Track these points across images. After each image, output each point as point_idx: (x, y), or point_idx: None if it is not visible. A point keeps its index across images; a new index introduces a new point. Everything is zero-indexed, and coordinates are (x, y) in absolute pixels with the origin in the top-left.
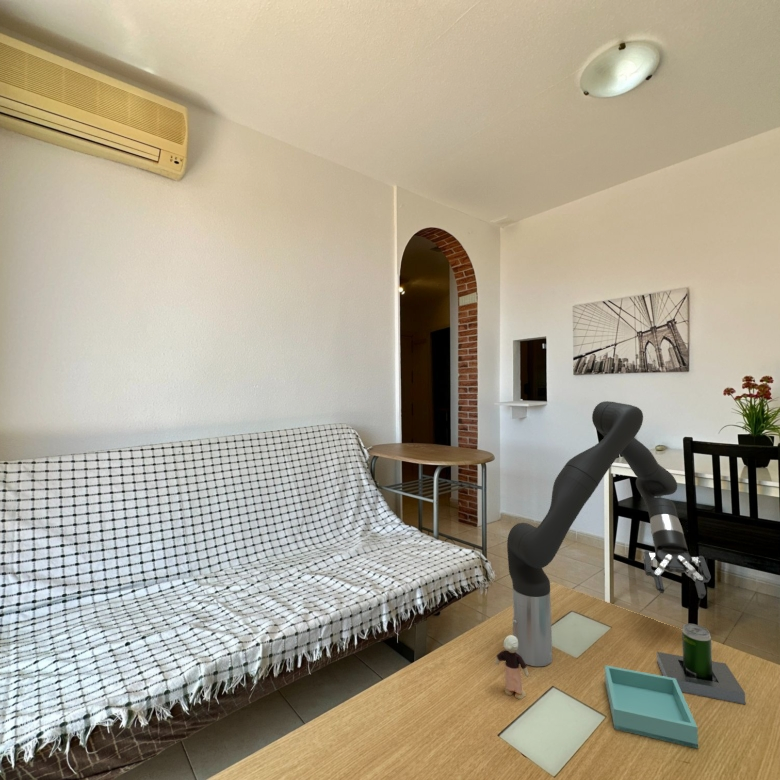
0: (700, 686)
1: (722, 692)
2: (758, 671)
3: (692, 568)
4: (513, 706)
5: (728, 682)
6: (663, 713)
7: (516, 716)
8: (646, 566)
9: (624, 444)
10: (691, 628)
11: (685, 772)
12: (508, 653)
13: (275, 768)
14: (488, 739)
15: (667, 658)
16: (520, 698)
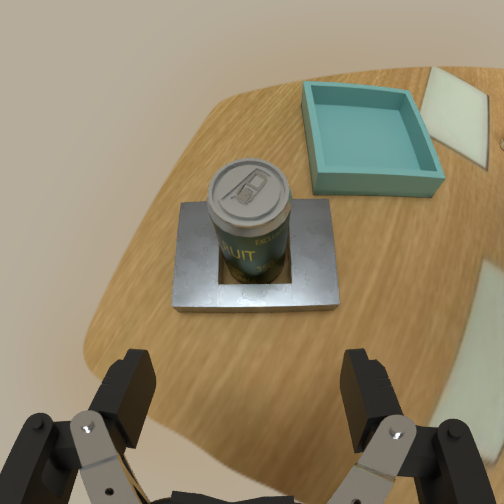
0: None
1: None
2: (105, 344)
3: (96, 476)
4: (499, 128)
5: (198, 226)
6: (341, 136)
7: (490, 116)
8: (474, 450)
9: None
10: (262, 193)
11: (322, 77)
12: None
13: None
14: (490, 91)
15: (317, 279)
16: (501, 139)
